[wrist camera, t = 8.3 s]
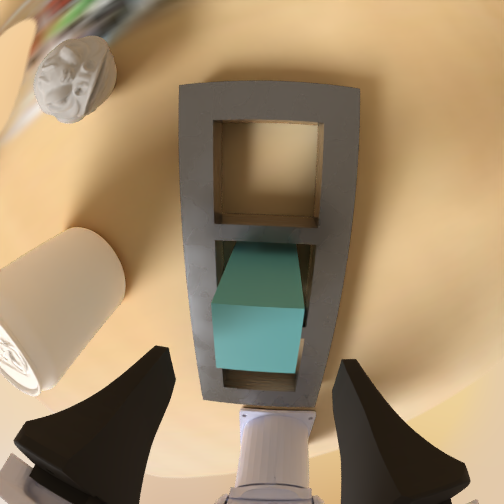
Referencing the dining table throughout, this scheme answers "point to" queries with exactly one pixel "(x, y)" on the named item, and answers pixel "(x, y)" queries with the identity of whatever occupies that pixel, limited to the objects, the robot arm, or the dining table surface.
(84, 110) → the grey lumpy piece
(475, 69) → the dining table surface
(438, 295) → the dining table surface
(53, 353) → the beverage can
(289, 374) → the rail
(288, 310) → the square peg
